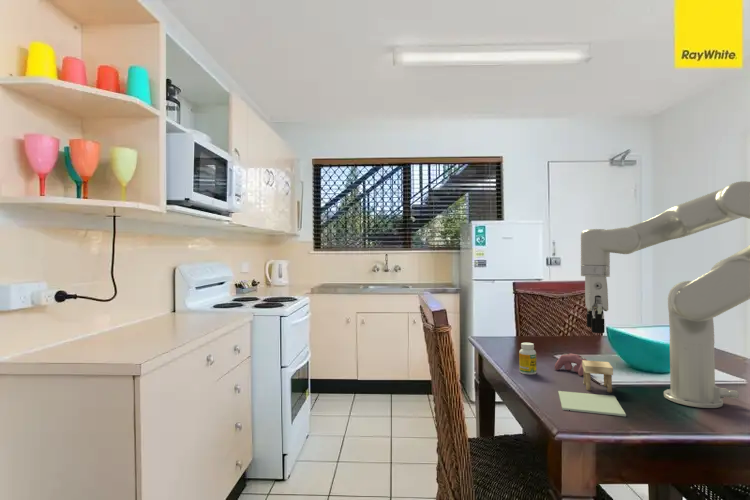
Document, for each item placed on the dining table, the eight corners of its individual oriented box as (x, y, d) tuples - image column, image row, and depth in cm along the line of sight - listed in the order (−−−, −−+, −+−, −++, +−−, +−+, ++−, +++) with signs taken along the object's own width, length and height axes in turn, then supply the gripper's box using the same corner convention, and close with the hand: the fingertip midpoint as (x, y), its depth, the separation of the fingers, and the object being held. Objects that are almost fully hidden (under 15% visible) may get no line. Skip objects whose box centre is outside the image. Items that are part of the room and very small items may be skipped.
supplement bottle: (524, 369, 144) (523, 341, 144) (539, 372, 140) (539, 343, 140) (516, 372, 140) (516, 343, 140) (531, 375, 136) (531, 346, 136)
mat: (614, 397, 115) (614, 396, 115) (626, 416, 102) (625, 414, 102) (558, 392, 120) (558, 390, 120) (562, 409, 106) (562, 407, 106)
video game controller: (587, 379, 137) (592, 358, 139) (580, 375, 135) (585, 354, 137) (559, 372, 145) (564, 353, 147) (552, 368, 143) (557, 348, 145)
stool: (608, 385, 125) (608, 361, 126) (613, 392, 119) (612, 367, 119) (582, 383, 128) (582, 360, 128) (585, 390, 121) (585, 365, 121)
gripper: (615, 272, 114) (615, 336, 114) (604, 270, 131) (604, 325, 131) (584, 272, 117) (584, 334, 117) (577, 270, 133) (577, 324, 133)
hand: (595, 329), depth 124 cm, fingers open, 9 cm apart
